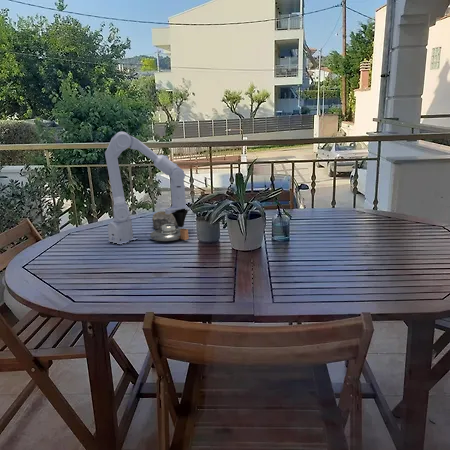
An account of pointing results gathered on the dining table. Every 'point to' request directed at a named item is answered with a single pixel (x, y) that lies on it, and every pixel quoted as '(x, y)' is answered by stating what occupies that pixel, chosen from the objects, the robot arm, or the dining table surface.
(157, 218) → the rock
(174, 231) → the cover
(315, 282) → the dining table surface
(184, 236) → the turntable
